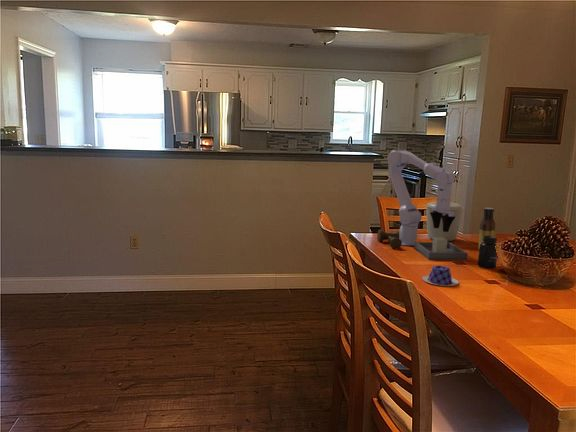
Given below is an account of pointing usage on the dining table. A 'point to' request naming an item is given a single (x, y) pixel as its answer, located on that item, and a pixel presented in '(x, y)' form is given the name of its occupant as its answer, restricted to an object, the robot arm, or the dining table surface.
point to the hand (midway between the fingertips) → (440, 229)
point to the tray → (450, 253)
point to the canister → (439, 231)
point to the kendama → (390, 238)
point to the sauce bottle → (487, 225)
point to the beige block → (439, 244)
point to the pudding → (440, 276)
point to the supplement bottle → (488, 253)
